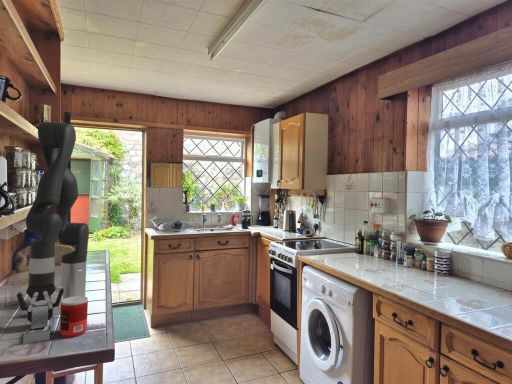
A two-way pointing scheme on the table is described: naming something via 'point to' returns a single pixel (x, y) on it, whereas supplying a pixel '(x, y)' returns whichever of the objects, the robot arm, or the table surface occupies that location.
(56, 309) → the tea bag
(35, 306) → the block
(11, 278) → the table surface
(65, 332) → the canned food
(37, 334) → the rail channel
